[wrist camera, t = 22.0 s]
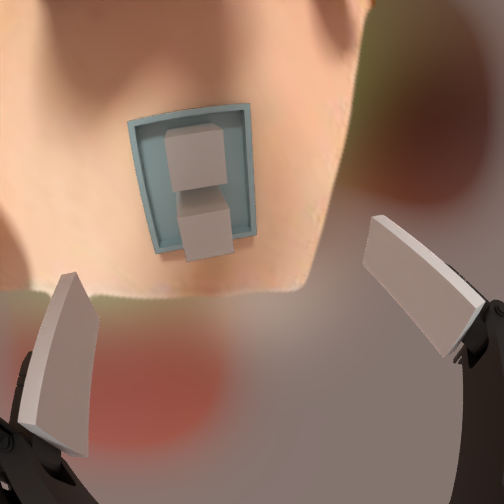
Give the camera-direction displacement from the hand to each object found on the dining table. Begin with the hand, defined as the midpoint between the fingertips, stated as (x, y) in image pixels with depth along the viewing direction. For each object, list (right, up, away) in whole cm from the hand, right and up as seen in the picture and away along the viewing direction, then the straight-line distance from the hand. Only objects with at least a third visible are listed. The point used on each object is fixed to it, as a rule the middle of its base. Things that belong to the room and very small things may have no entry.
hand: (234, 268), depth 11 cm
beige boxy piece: (-7, +7, +28) cm, 30 cm away
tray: (-7, +11, +26) cm, 29 cm away
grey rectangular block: (-7, +15, +23) cm, 28 cm away
